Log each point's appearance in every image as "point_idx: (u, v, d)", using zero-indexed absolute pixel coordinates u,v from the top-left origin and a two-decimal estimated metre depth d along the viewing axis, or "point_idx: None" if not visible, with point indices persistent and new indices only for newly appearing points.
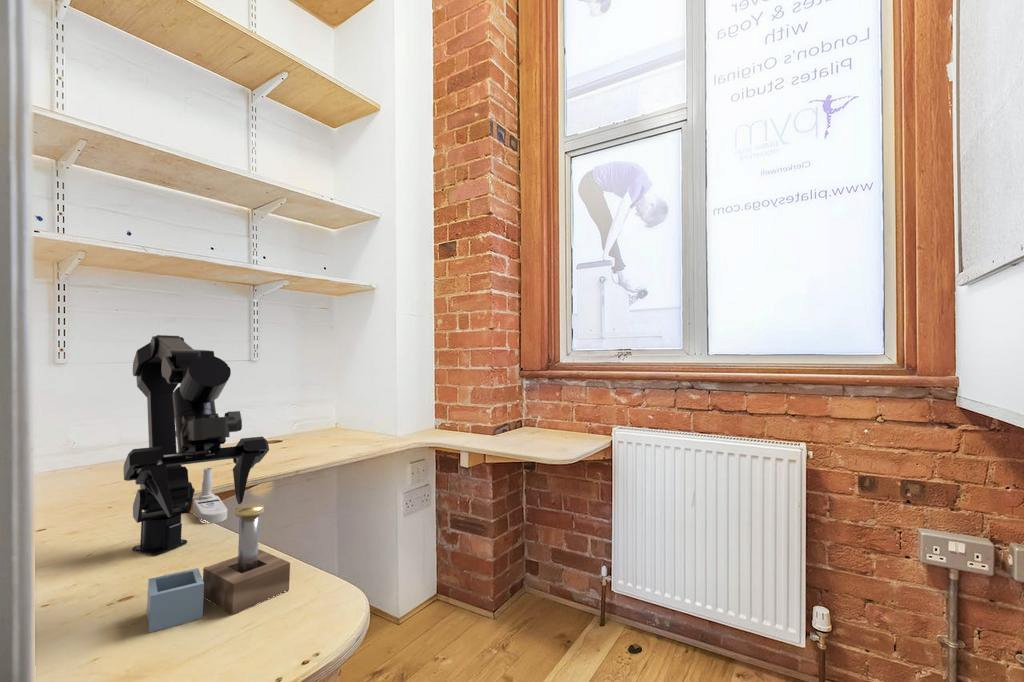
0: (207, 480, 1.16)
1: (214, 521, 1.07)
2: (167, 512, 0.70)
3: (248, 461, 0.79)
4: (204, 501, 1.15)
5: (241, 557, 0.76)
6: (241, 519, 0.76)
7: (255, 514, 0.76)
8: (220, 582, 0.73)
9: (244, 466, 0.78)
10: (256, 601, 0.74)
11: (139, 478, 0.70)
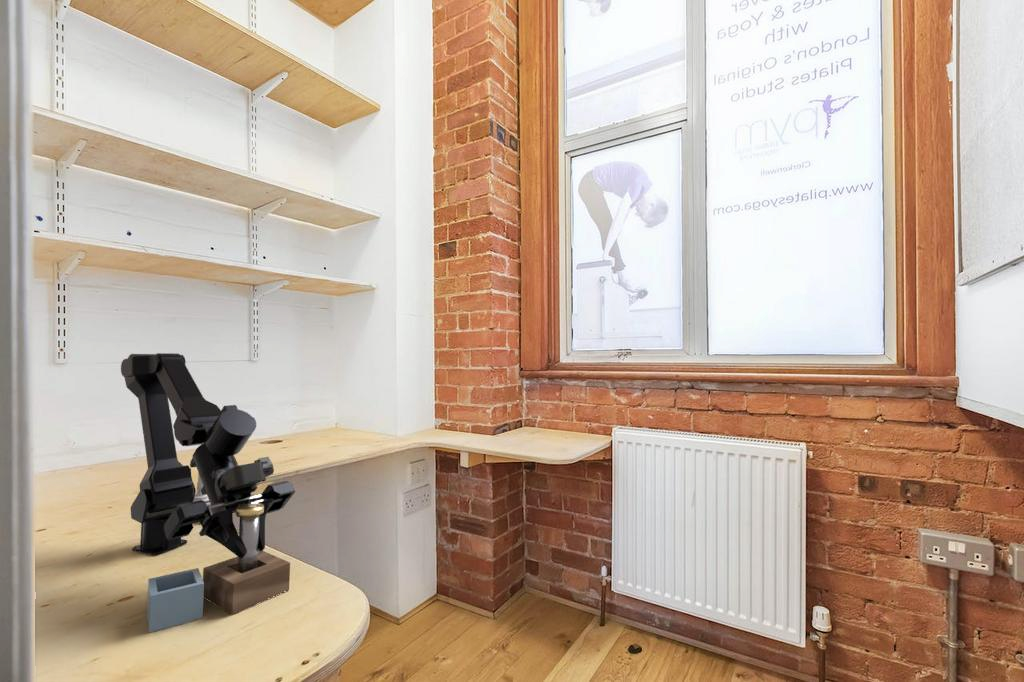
0: None
1: None
2: (239, 553, 0.75)
3: None
4: None
5: None
6: (241, 519, 0.76)
7: (255, 514, 0.76)
8: (220, 582, 0.73)
9: None
10: (256, 601, 0.74)
11: (206, 527, 0.75)
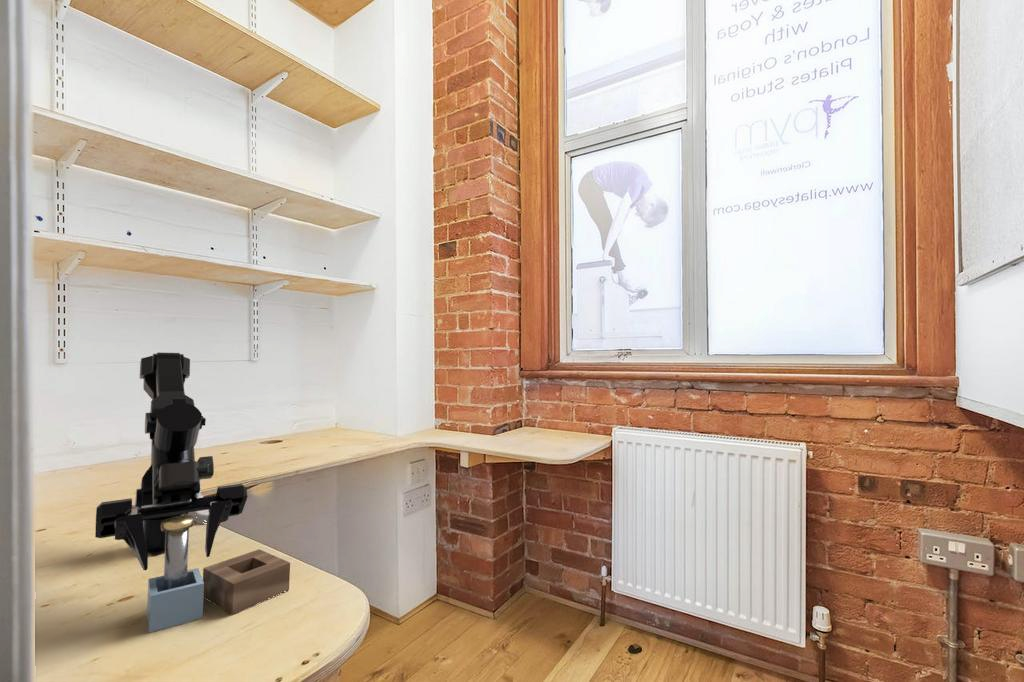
0: None
1: None
2: (142, 565, 0.67)
3: (217, 510, 0.75)
4: None
5: (165, 575, 0.69)
6: None
7: (177, 529, 0.69)
8: (220, 582, 0.73)
9: (213, 516, 0.74)
10: (256, 601, 0.74)
11: (116, 531, 0.69)
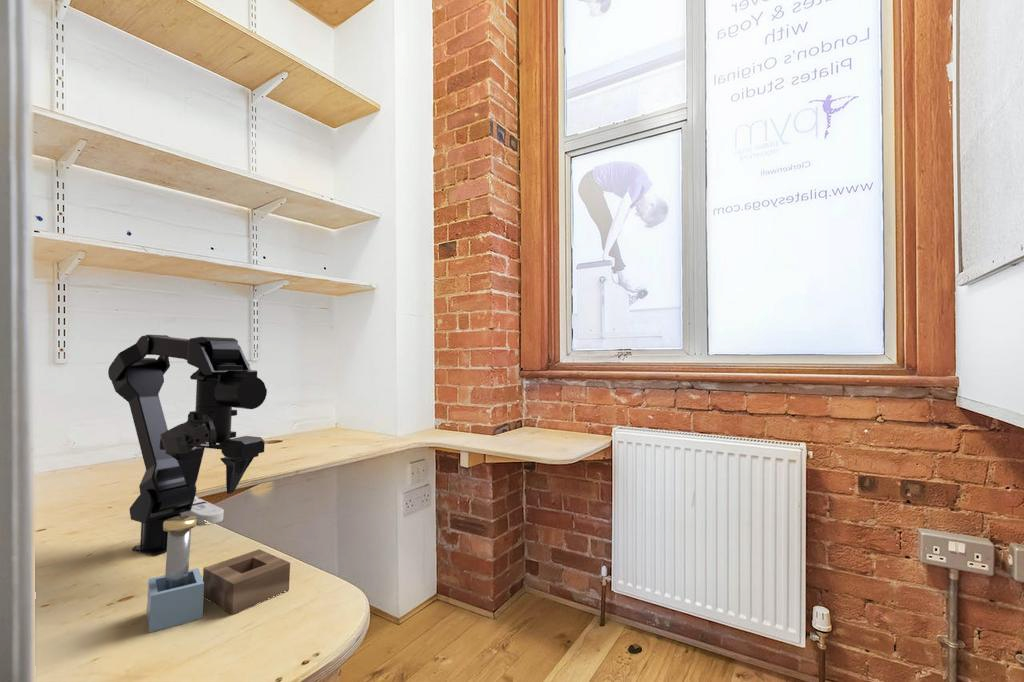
0: None
1: (214, 521, 1.07)
2: None
3: (227, 463, 0.84)
4: None
5: (166, 575, 0.69)
6: (168, 533, 0.70)
7: (179, 529, 0.69)
8: (220, 582, 0.73)
9: (227, 465, 0.85)
10: (256, 601, 0.74)
11: None
